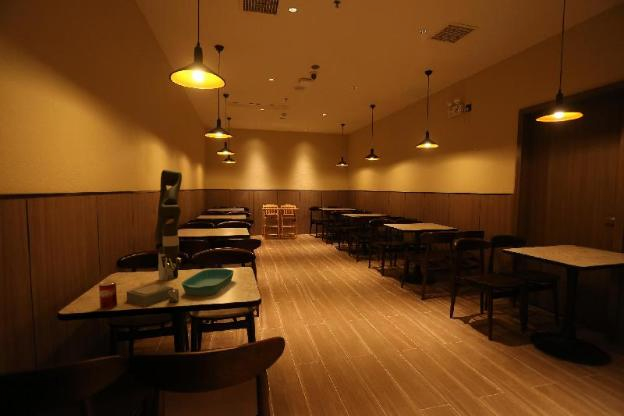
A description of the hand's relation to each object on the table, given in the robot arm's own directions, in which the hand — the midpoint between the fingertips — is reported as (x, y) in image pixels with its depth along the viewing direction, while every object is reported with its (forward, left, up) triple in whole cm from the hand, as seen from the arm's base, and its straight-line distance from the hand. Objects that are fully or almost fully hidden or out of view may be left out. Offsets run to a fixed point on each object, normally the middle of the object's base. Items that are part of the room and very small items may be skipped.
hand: (172, 276), depth 163 cm
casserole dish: (-1, +25, -14) cm, 29 cm away
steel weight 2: (0, 0, -13) cm, 13 cm away
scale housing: (-15, -3, -13) cm, 20 cm away
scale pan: (-15, -3, -10) cm, 18 cm away
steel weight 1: (0, 0, -1) cm, 1 cm away
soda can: (-23, -20, -13) cm, 33 cm away
